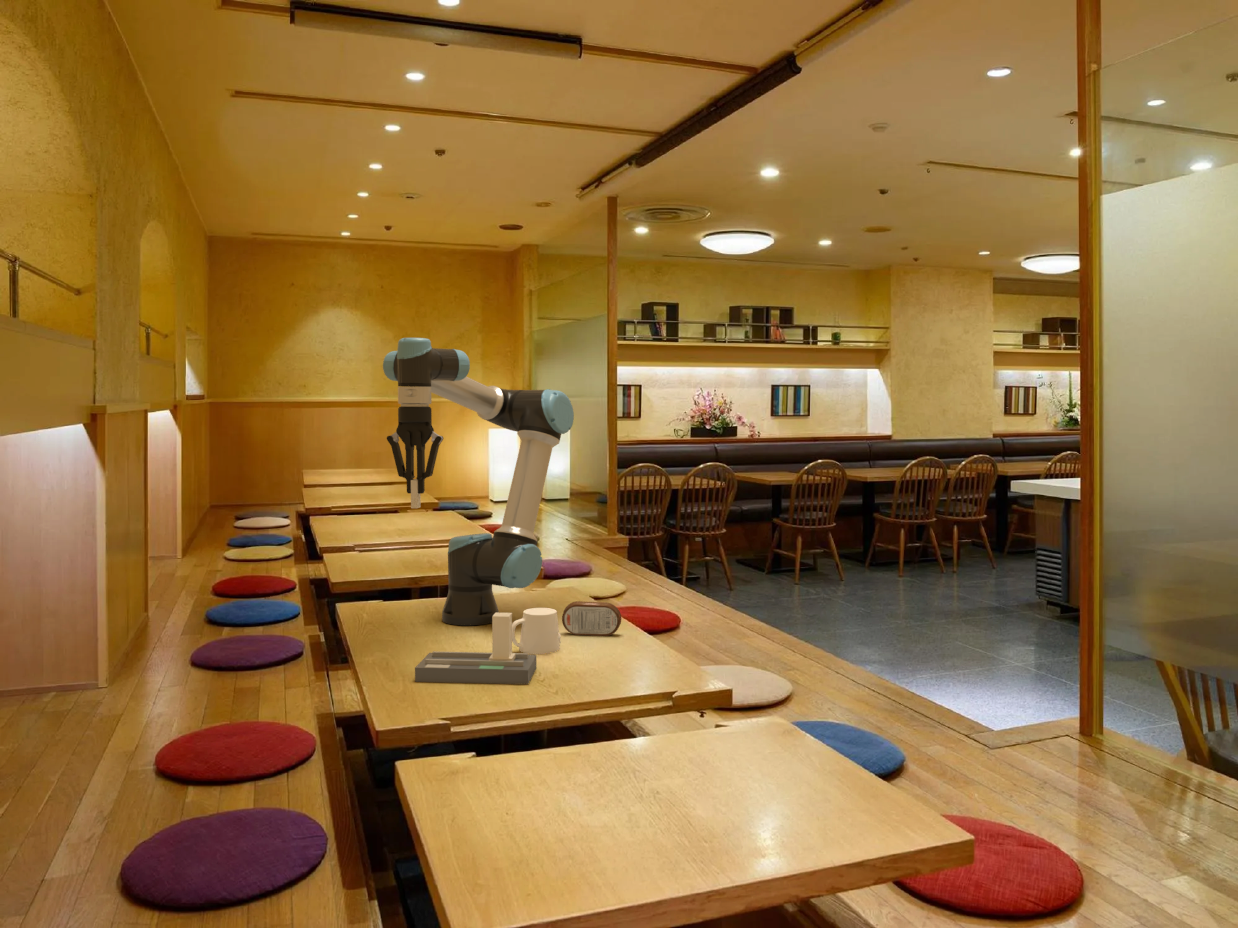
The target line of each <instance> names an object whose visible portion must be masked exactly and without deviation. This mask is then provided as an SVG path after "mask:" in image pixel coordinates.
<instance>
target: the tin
mask: <svg viewBox="0 0 1238 928" xmlns="http://www.w3.org/2000/svg"><path fill="white" fill-rule="evenodd" d="M561 620H562V621H561V623H562V625H563V627H564V629H565V630H566V631H567V632H568V633H570V634H571V635H575V636H587V635H588V636H592V637H593V636H595V637H610V636H612V635H614V634H615V632H617V631H618V630H619V627H620V626H621V624H622V614H621V612H620V609H619V608H618V607H617V606H615V605H614V604H613V603H611V602H604V601H603V602H602V601H583V600H582V601H581V600H579V601H578V600H577V601H573V602H571V603H569V604H567V605H566V606H565V608H564V610H563V613H562V615H561Z"/></svg>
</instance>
